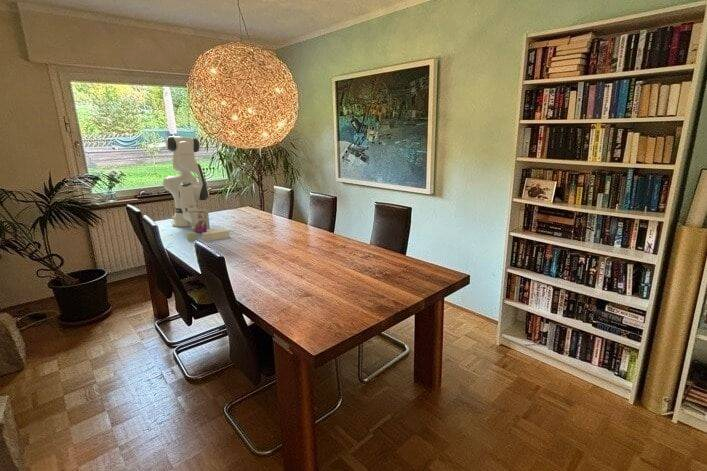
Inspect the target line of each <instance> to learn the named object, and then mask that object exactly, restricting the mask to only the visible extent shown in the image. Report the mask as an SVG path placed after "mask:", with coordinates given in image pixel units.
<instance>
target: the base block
mask: <svg viewBox="0 0 707 471" xmlns="http://www.w3.org/2000/svg"><path fill="white" fill-rule="evenodd" d="M206 231H207V232H210V233H212V240H211V241H214V240H221V239H225V238H226V239H227V238H230V230H229V229H227V228H225V227H224V226H221V227H216V228H215V227H214V228H210V229H207V230H206Z"/></svg>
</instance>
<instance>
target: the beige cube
mask: <svg viewBox="0 0 707 471" xmlns="http://www.w3.org/2000/svg"><path fill="white" fill-rule="evenodd" d="M201 238H202V241H203V242H209V241H213V240H212V233H210V232H201Z"/></svg>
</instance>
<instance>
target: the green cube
mask: <svg viewBox="0 0 707 471" xmlns="http://www.w3.org/2000/svg"><path fill="white" fill-rule="evenodd" d="M185 233H186V234H185V235H186V240H187V241H189V242H193V241H197V237H198V236H197V232H194V231H193V230H192V231H188V232H185ZM192 240H193V241H192Z"/></svg>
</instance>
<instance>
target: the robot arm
mask: <svg viewBox="0 0 707 471" xmlns="http://www.w3.org/2000/svg"><path fill="white" fill-rule="evenodd" d="M165 147H166V149H167V150H168V151H170V152H173V153H172V168H173V169H174V170H175V171H177V172H179V174H178V175H177V174H176V175H170V176H167V177H164V178H163V180H162V187H163V188H164V189H165V190H166V191H167V192H169V193H170V194H171V195H172V198H173V200H174V205H175V208H174V212H175V213H174V215H173V216H171V219H172V221H171V224H172V225H171V226H172V227H179V228H180V227H182V228H183V227H184V228H185V227H191V229H192V230H193V229H195V223H197V222H198V213H197V211H198V209H199V208H198V207H197V204H196V201H206V200H208V199H209V198H210V191H209V188H208V186H207V182H206V180H205V176H204V173H203V169H202V166H201V165H200V164H199V163H198V162H197V161H196V158H195V153H198V152H199V151H200V148H201V145H200V141H199V139H198V138H195V137H189V136H173V135H171V136H168V137H167V138H166V140H165ZM193 174H195V175H193ZM196 176H197V177H196ZM198 182H199V185H198Z"/></svg>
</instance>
